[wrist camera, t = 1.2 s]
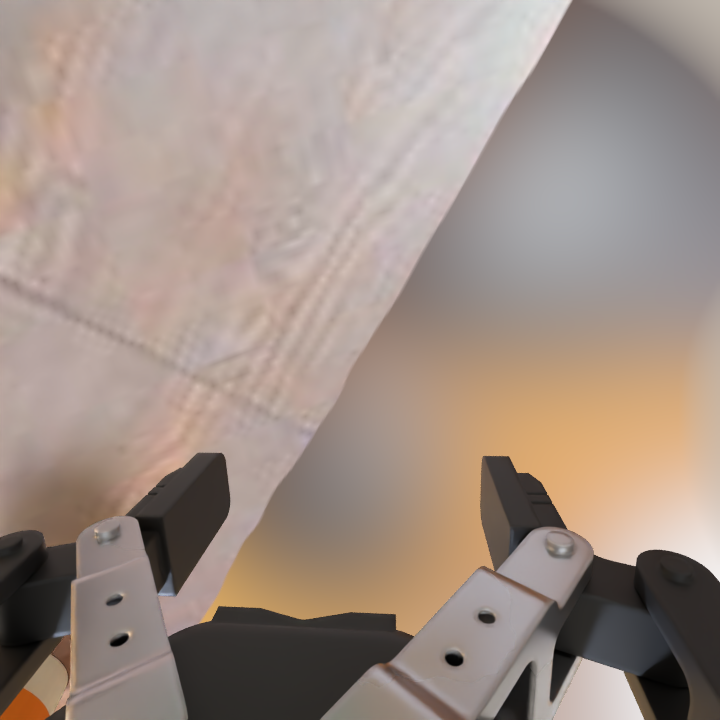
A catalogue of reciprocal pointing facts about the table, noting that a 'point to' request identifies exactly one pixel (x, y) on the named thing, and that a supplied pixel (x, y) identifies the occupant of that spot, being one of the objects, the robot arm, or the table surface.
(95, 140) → the table surface
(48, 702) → the reusable coffee cup
